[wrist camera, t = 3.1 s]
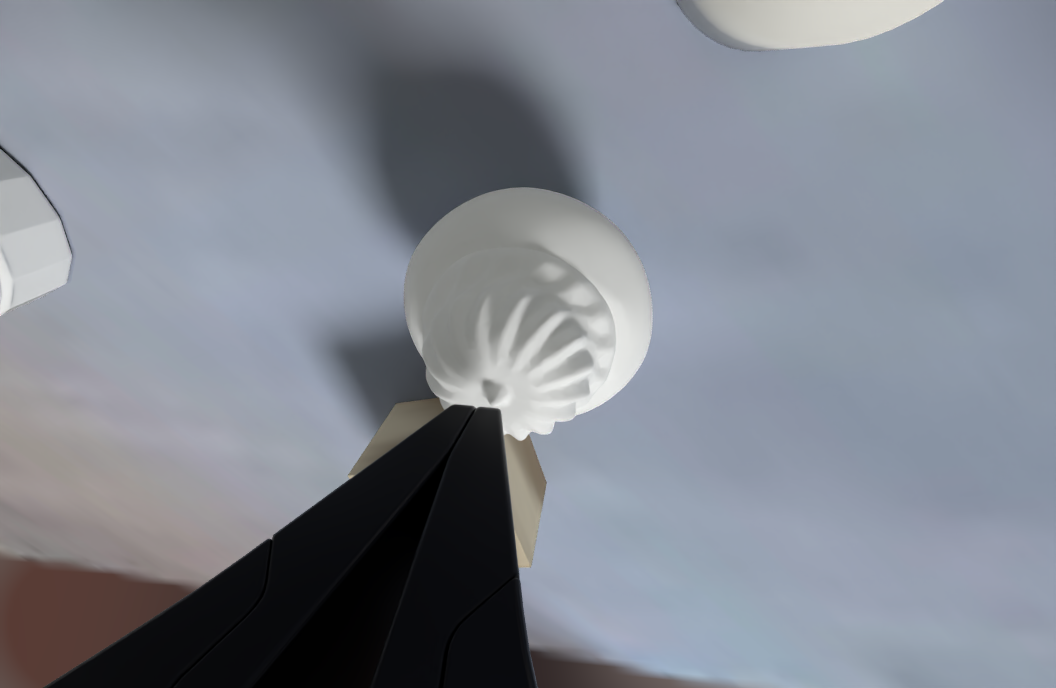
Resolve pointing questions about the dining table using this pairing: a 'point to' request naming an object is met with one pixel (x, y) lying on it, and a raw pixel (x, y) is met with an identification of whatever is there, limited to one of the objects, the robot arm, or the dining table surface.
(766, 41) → the white rounded lump
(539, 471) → the maple block
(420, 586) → the robot arm
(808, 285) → the dining table surface
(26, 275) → the white cup
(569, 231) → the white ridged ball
